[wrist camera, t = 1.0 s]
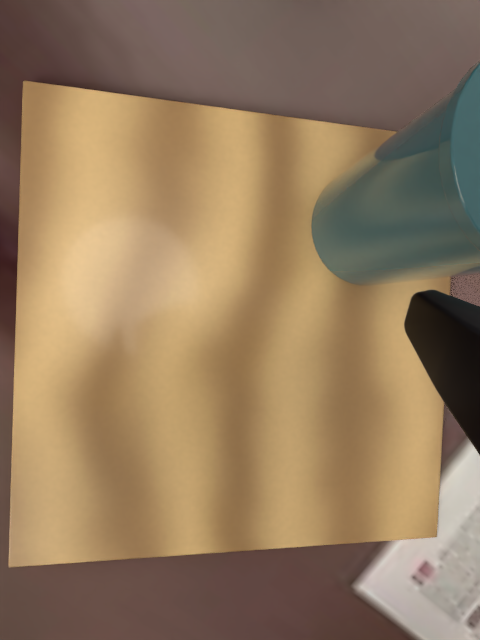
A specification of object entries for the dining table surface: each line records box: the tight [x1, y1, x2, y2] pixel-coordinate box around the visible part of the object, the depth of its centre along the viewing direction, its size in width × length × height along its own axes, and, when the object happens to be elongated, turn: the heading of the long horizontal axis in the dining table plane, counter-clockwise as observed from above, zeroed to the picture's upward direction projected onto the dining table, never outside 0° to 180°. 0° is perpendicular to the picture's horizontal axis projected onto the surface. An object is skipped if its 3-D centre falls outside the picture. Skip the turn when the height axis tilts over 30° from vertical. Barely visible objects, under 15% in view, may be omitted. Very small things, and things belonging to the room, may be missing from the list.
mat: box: [8, 81, 451, 567], centre depth 23 cm, size 24×24×1 cm
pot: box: [311, 60, 480, 286], centre depth 17 cm, size 7×7×13 cm
